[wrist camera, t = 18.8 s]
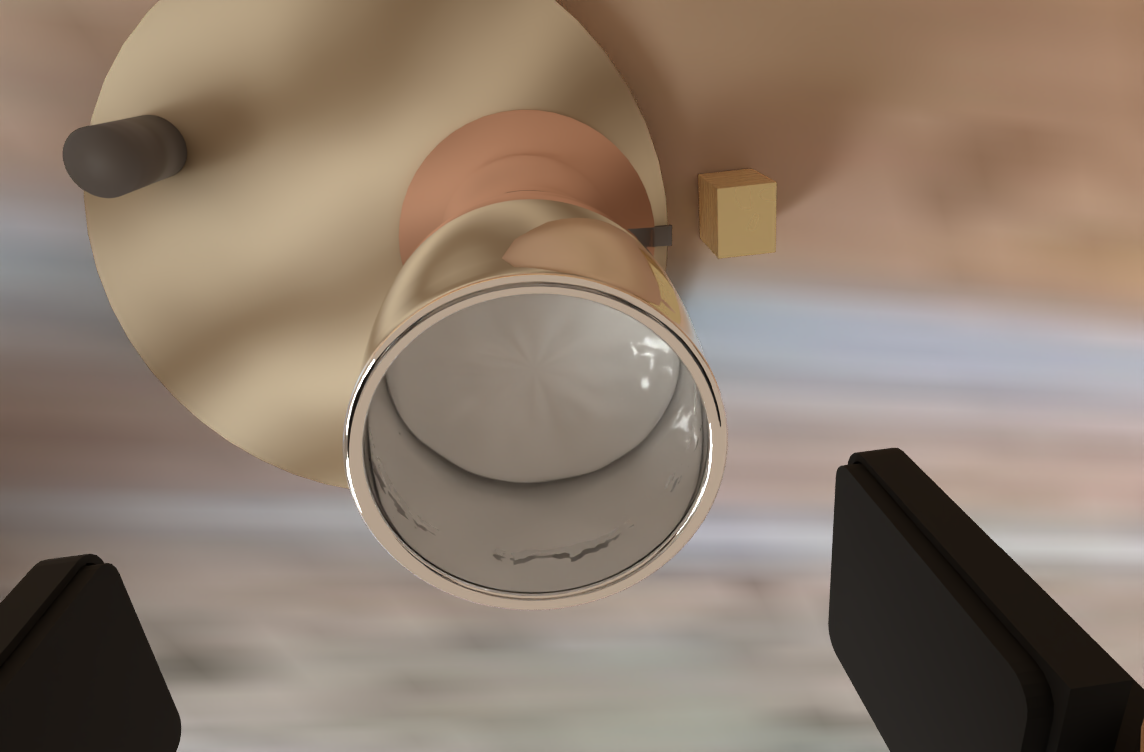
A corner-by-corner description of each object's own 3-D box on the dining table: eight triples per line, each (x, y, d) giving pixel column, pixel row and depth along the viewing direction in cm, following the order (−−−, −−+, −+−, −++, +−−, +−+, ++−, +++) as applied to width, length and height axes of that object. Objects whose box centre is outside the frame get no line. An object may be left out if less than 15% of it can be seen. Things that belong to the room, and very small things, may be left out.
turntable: (-22, 163, 26) (-138, 189, 21) (448, -218, 22) (430, -283, 18) (355, 550, 33) (329, 631, 29) (752, 310, 30) (794, 359, 25)
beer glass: (434, 126, 25) (331, 234, 11) (642, 155, 25) (786, 289, 12) (421, 324, 27) (326, 608, 14) (609, 345, 28) (695, 632, 14)
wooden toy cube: (699, 237, 29) (718, 258, 26) (697, 174, 28) (717, 188, 25) (751, 232, 29) (775, 252, 26) (751, 168, 28) (776, 182, 25)
